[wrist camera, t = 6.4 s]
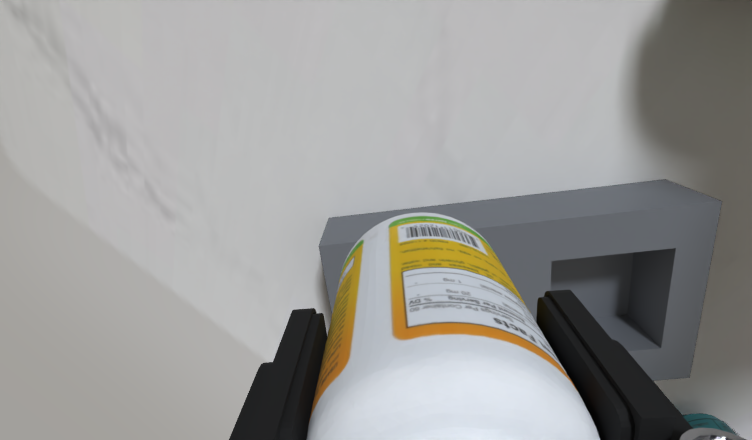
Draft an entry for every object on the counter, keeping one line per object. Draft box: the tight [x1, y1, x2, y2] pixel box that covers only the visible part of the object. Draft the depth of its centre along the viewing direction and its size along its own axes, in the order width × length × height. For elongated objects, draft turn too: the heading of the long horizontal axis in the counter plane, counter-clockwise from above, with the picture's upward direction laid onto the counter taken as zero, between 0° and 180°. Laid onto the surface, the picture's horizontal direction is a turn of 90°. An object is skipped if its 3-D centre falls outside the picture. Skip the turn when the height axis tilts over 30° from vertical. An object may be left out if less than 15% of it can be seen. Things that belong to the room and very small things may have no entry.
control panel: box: [319, 179, 722, 381], centre depth 27 cm, size 24×13×8 cm, turn 97°
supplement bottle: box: [307, 212, 600, 440], centre depth 9 cm, size 5×5×10 cm
